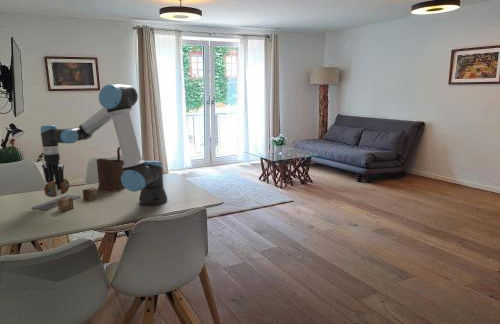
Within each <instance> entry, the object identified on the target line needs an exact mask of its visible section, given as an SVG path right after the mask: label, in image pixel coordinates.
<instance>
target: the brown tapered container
mask: <svg viewBox="0 0 500 324" xmlns="http://www.w3.org/2000/svg"><path fill="white" fill-rule="evenodd" d="M120 151H121V149H120V146H118V147H117V149H116V152H117V159H106V158H97V159H96V167H97V169H96V170H97V178H98V187H97V188H96V189H97V191H98V192H101V191H102V192H101V193H103V192H104V193H111V192H119V191H123V190H125V189H126V188H125V187H124V186H123V185H122V182H121V176H122V174H123V168H122V167H123V165H124V160H122V159H121V154H120ZM126 190H127V189H126Z"/></svg>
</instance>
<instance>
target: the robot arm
mask: <svg viewBox="0 0 500 324" xmlns="http://www.w3.org/2000/svg"><path fill="white" fill-rule="evenodd" d="M98 93H99V94H98V101H99V104H100V105H101V107H102V108H101V109H99V110H98V111H97V112H95V114H93V115H91V116H90V117H89V118H88V119H86V120H85V121H84V122H82V123H81V124H80V125H79V126H75V127H70V128H57V126H56V125H55V124H44V125H41V126H40V137H41V145H42V152H43V159H44V162H45V164H42V165H41V167H42V169H43V172H44V173H43V174H44V178H45V183H49V182H52V181H56V184H55V190H56V197H59V196H62V194H61V183H63V182H64V179H65V177H64V169H65V166H64V165H62V164H60V160H61V157H60V149H59V144H69V145H70V144H75V143H76V142H79V141H87V140H88V139H91V138H92V137H93V134H94V133H96V132H97V131H99V129H101V128H102V127H103V126H104V125H107V123H108V122H110V121H112V122H113V125H114V129H115V134H116V138H117V140H118V141H117V142H118V143H119V147H120V151H121V155H122V159H123V160H124V165H123V167H122V168H123V174H122V176H121V182H122V185H123V186H124V187H125V188H126V190H128V191H130V192H132V193H133V192H139V191H140V194H139V197H138V199H139V200H138V202H139V204H140V205H142V206H159V205H161V204H165V203H166V202H168V195H167V193H166V190H165V187H164V178H163V175H164V174H163V164H162V161H160V160H144V159H142V156H141V151H140V148H139V144H138V141H137V137H136V132H135V130H134V129H135V128H134V125H133V122H132V117H131V114H130V113H131V111H132V107H134V105H136V104H137V102H138V99H139V97H138V96H139V95H138V92H137V90H136V88H135V87H133V86H132V85H129V84H125V83H123V84H122V83H121V84H120V83H119V84H118V83H111V84H106V85H104V86H103V87H101V88H100V91H99V92H98Z"/></svg>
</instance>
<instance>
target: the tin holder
mask: <svg viewBox="0 0 500 324" xmlns="http://www.w3.org/2000/svg"><path fill="white" fill-rule="evenodd" d="M97 189H98V188H93V187H87V188H85V189H82V198H83V201H87V200H90V202H93V201H94V200H97V199H98V193H97V191H98V190H97ZM60 197H61V198H60ZM60 197H58V198H59V199H57V198H56V199H57V205H58V206H57V210H58V211H60V212H67V211H69V210H73V209H74V200H73V198H72V197H71V198H65V197H63V196H60Z"/></svg>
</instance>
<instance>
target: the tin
mask: <svg viewBox="0 0 500 324" xmlns="http://www.w3.org/2000/svg"><path fill="white" fill-rule="evenodd" d="M55 184H56V181H55V180H54V181H52V182H49V183H48V182H46V184H45V186H44V189H43V191H44V194H45V196H46V197H49V198H56V197H57V196H56V190H55ZM69 189H70V183H69V180H67V179H66V178H64V182H63V183H61V195H63V194H64V195H65V194H67V192H68V191H69Z"/></svg>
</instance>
